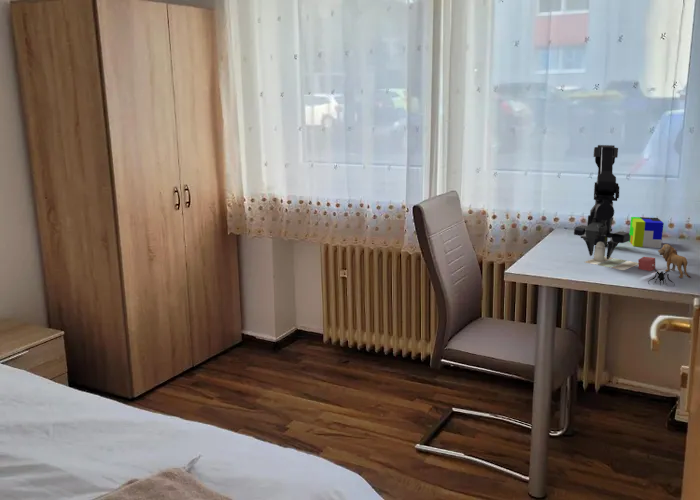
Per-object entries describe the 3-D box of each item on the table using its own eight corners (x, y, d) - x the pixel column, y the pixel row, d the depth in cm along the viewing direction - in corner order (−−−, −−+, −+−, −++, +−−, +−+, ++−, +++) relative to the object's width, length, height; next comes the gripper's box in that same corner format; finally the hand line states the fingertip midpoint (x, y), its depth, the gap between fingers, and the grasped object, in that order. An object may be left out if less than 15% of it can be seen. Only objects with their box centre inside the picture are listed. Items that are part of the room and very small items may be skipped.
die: (638, 259, 231) (651, 261, 228) (644, 256, 233) (656, 257, 230) (638, 271, 232) (651, 273, 229) (644, 268, 235) (656, 269, 231)
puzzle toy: (660, 247, 263) (663, 222, 261) (633, 246, 265) (636, 221, 263) (654, 242, 273) (657, 217, 270) (628, 240, 275) (631, 216, 272)
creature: (674, 291, 213) (673, 279, 219) (676, 277, 210) (675, 265, 217) (647, 289, 216) (647, 277, 222) (649, 274, 213) (649, 263, 220)
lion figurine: (653, 268, 235) (656, 243, 232) (666, 267, 236) (669, 242, 234) (684, 280, 221) (687, 253, 219) (697, 279, 222) (701, 252, 220)
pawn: (591, 259, 243) (593, 241, 241) (596, 258, 245) (598, 240, 243) (601, 261, 240) (603, 243, 238) (606, 260, 242) (608, 241, 241)
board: (582, 264, 240) (582, 262, 240) (601, 257, 249) (602, 255, 249) (623, 273, 229) (623, 270, 229) (641, 265, 238) (642, 263, 238)
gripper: (567, 214, 240) (564, 256, 244) (617, 221, 226) (613, 266, 230) (583, 209, 247) (579, 251, 251) (633, 217, 234) (628, 260, 238)
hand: (599, 257), depth 242 cm, fingers open, 6 cm apart
